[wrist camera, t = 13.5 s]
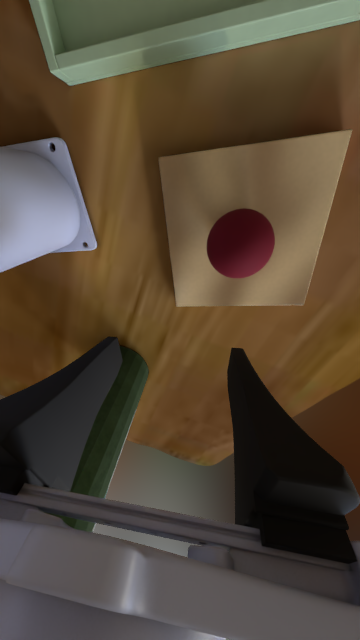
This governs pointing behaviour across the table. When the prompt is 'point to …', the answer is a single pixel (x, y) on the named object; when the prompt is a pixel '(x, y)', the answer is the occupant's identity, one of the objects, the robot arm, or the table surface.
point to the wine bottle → (109, 433)
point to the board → (257, 194)
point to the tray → (167, 30)
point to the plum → (240, 243)
